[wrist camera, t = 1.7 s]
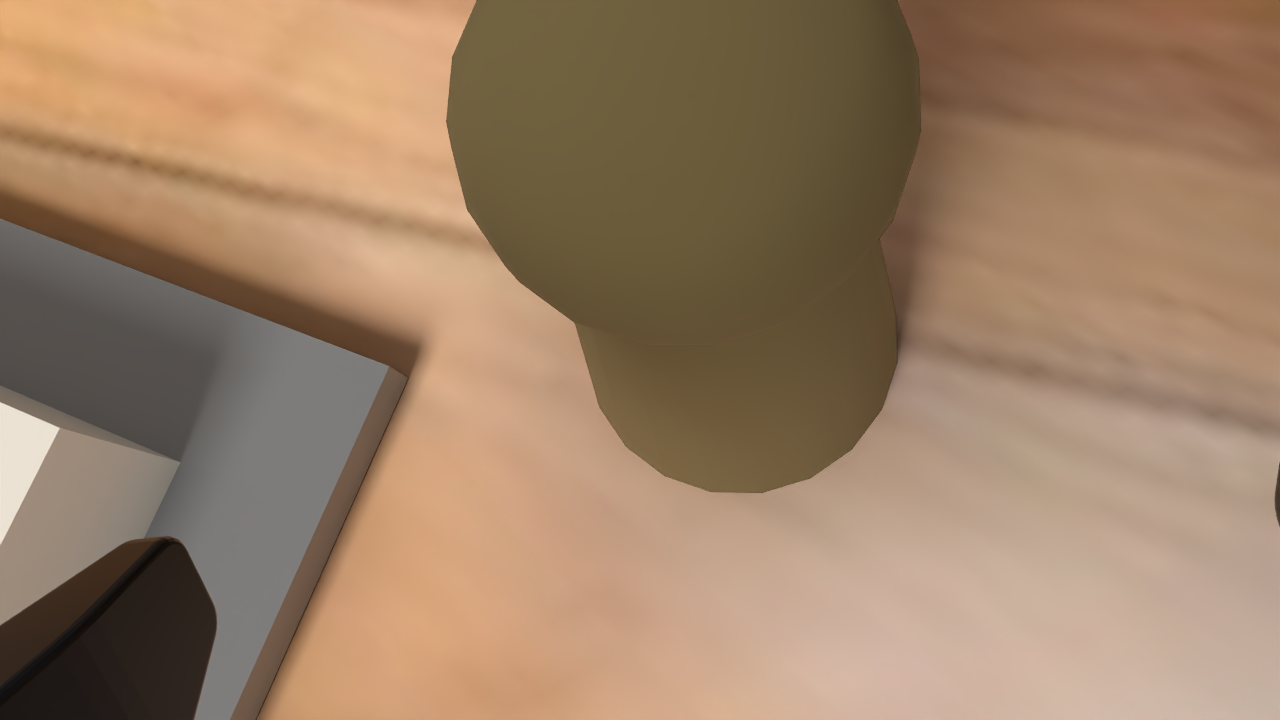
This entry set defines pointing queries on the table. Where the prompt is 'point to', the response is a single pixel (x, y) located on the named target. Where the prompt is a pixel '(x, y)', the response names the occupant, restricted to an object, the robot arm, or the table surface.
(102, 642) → the robot arm
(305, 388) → the shaker caddy
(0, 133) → the table surface
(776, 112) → the pepper shaker
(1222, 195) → the table surface
